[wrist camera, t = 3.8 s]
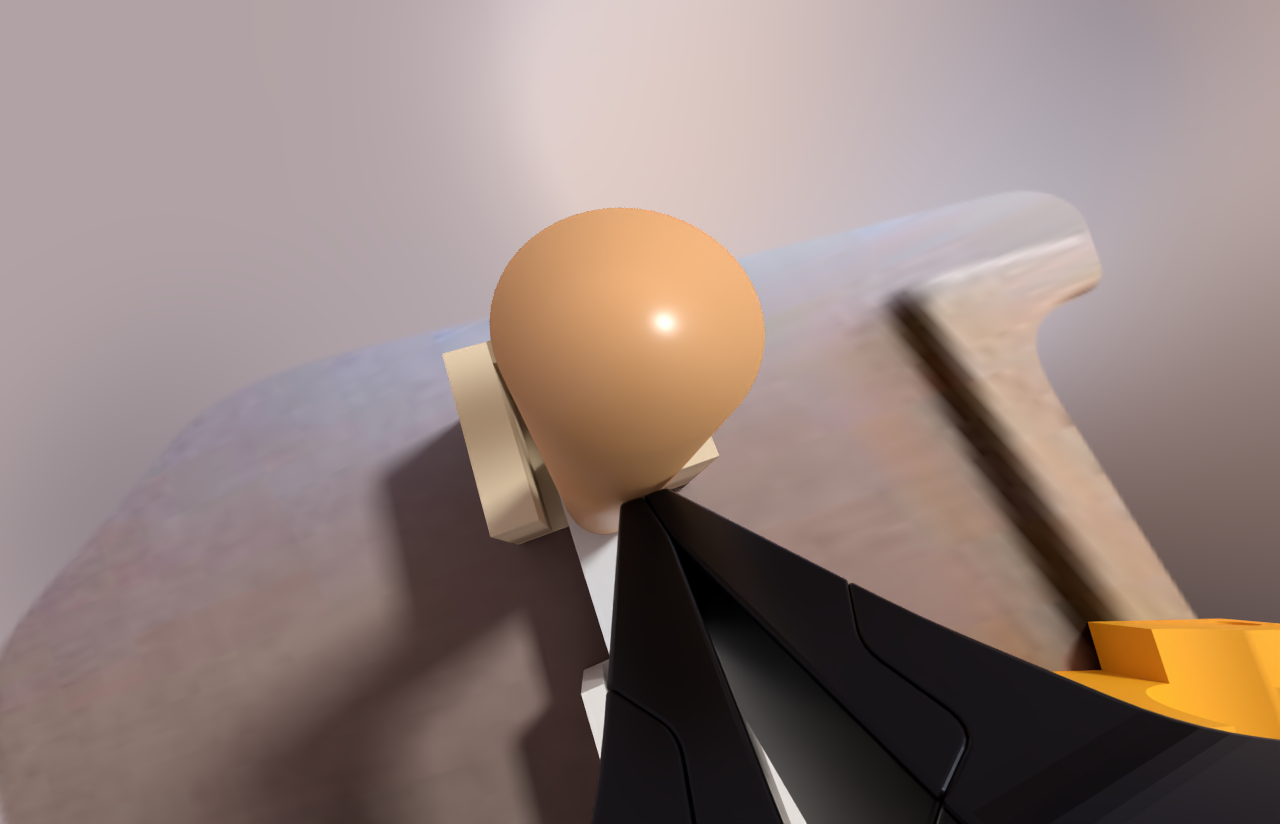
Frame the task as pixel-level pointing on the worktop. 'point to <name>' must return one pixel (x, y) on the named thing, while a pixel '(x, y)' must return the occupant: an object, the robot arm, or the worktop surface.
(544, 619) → the worktop surface
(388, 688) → the worktop surface
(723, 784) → the robot arm
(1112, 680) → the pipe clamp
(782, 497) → the worktop surface
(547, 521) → the socket
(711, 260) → the slide bolt
